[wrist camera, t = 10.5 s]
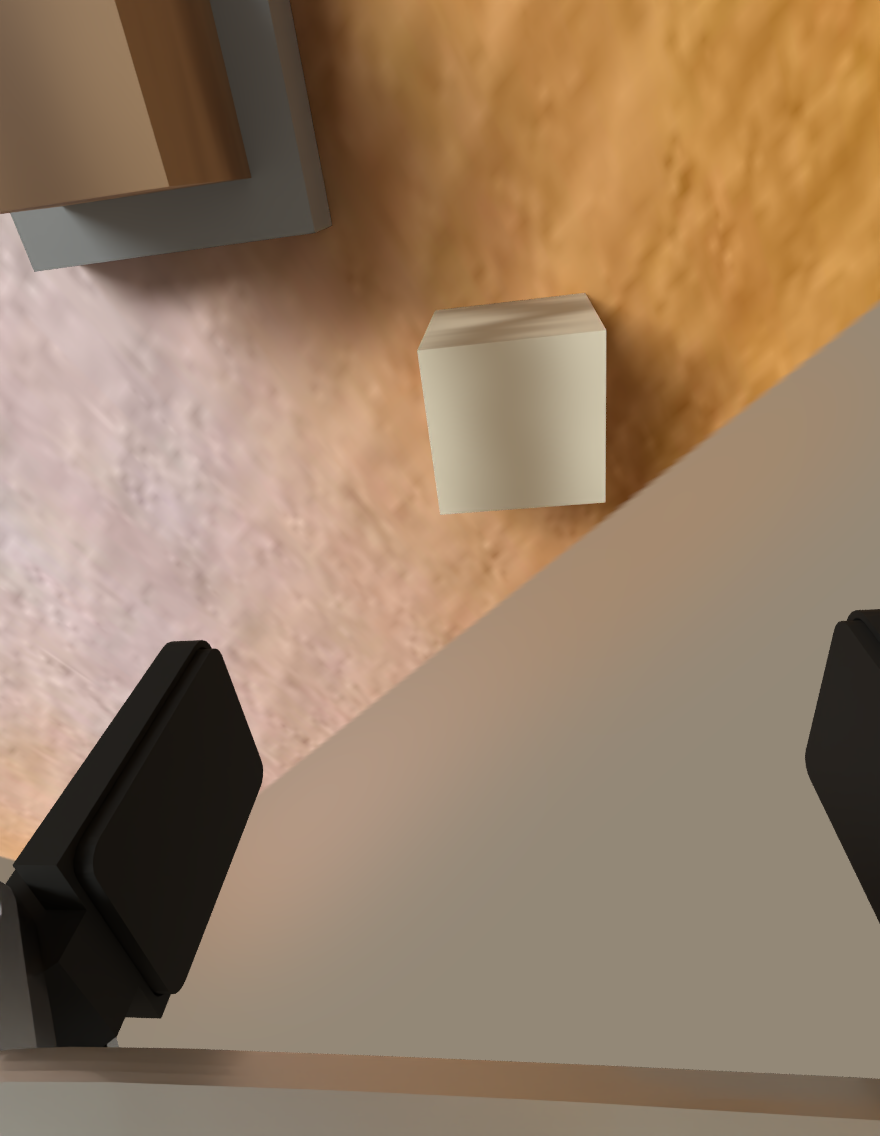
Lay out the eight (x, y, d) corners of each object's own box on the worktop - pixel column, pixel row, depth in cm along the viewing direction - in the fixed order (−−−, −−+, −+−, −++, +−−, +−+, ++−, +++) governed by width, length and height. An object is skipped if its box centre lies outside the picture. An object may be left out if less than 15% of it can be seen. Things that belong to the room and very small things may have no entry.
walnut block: (184, -109, 17) (51, -216, 12) (251, 177, 21) (169, 186, 16) (-38, -61, 18) (-246, -143, 13) (62, 206, 22) (-75, 223, 17)
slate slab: (256, -178, 18) (223, -221, 16) (332, 225, 24) (314, 233, 21) (-65, -105, 20) (-133, -135, 18) (74, 261, 25) (34, 271, 23)
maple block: (585, 292, 24) (606, 330, 19) (586, 436, 27) (605, 502, 22) (435, 310, 25) (417, 350, 20) (451, 448, 28) (440, 514, 23)
